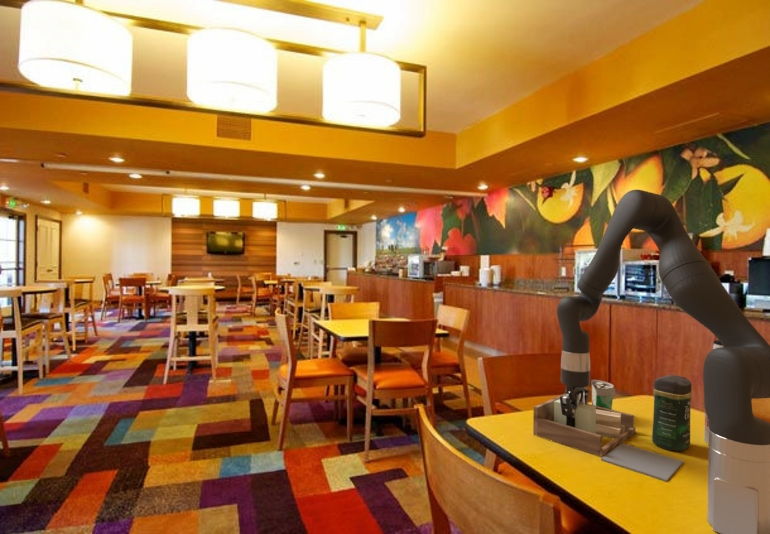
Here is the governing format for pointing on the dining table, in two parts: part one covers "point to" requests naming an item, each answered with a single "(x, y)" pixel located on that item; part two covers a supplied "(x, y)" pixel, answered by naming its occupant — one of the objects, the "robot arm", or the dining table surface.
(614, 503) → the dining table surface
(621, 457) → the mat
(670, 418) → the coffee jar
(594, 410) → the block
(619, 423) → the offcut
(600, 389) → the food container
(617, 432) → the offcut
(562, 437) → the tray
